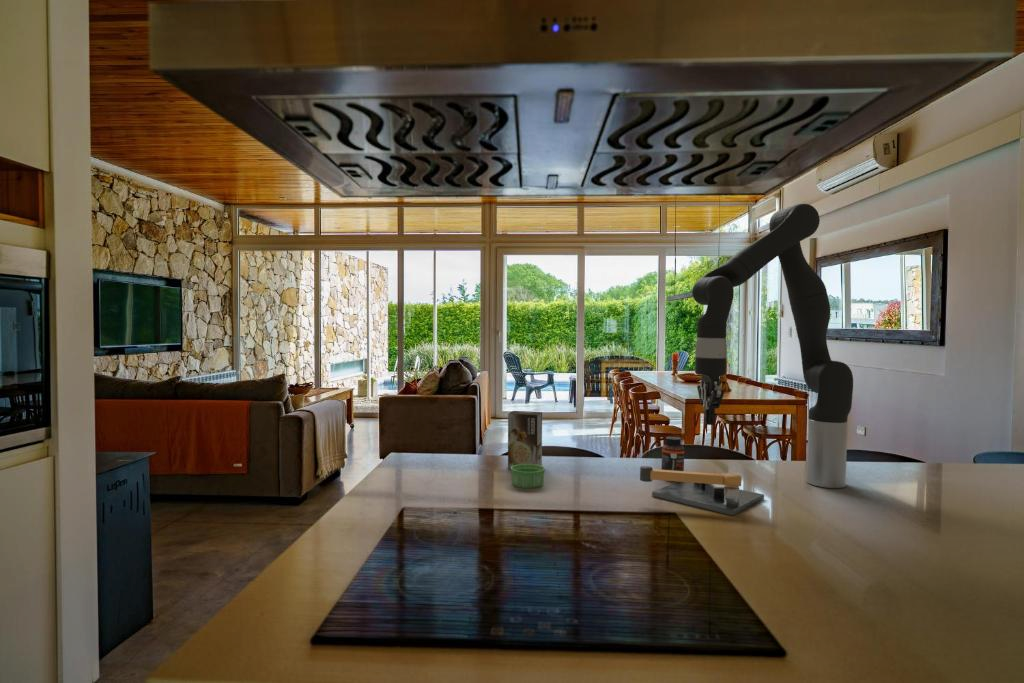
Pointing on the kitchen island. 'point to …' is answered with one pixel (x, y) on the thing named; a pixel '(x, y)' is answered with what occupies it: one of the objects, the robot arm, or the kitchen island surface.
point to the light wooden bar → (689, 477)
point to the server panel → (709, 496)
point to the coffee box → (524, 438)
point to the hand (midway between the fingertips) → (709, 424)
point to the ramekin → (527, 475)
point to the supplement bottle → (673, 454)
